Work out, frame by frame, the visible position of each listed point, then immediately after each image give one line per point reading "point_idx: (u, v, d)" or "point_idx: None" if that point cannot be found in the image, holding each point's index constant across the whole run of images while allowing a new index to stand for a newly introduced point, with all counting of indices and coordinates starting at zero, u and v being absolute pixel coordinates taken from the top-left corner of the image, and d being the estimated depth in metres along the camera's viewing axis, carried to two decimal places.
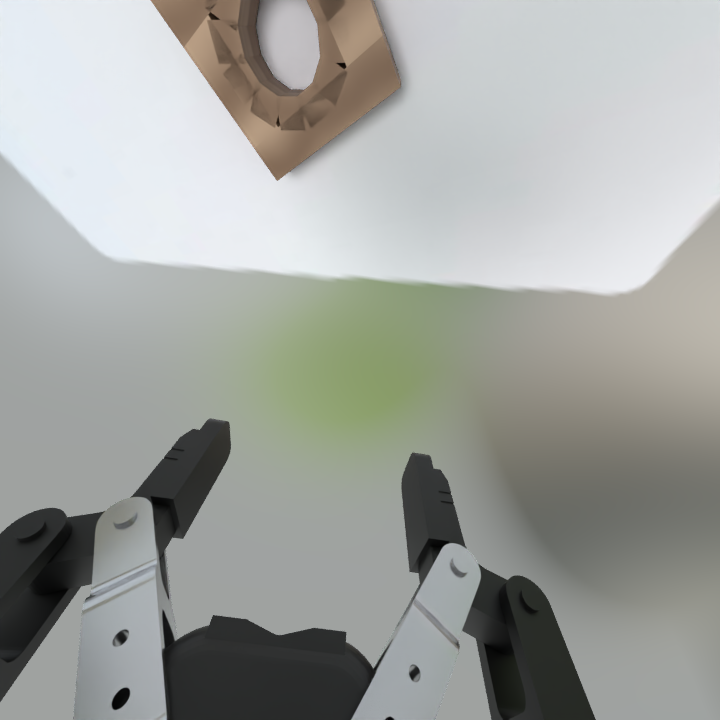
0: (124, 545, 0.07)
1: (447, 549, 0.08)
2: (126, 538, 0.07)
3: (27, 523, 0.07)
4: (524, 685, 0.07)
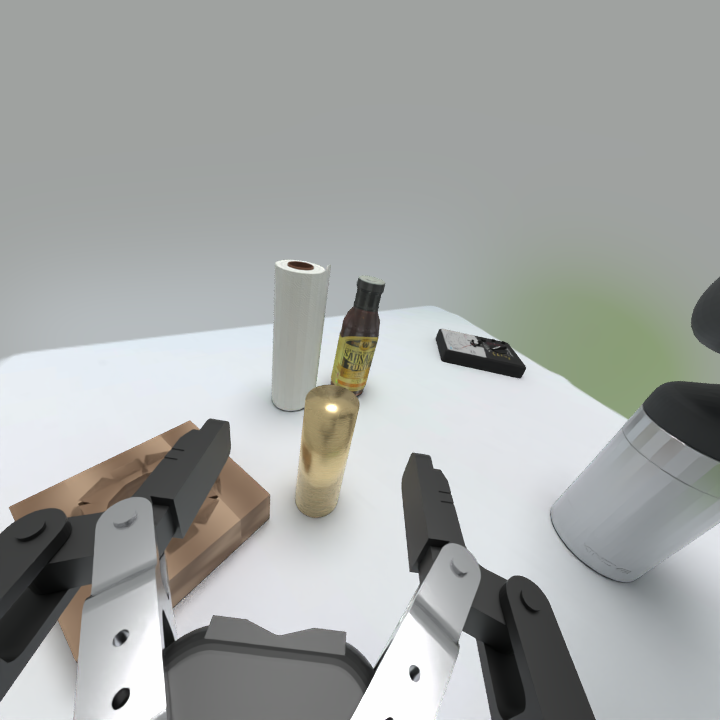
0: (124, 545, 0.07)
1: (447, 549, 0.08)
2: (126, 538, 0.07)
3: (27, 523, 0.07)
4: (524, 685, 0.07)
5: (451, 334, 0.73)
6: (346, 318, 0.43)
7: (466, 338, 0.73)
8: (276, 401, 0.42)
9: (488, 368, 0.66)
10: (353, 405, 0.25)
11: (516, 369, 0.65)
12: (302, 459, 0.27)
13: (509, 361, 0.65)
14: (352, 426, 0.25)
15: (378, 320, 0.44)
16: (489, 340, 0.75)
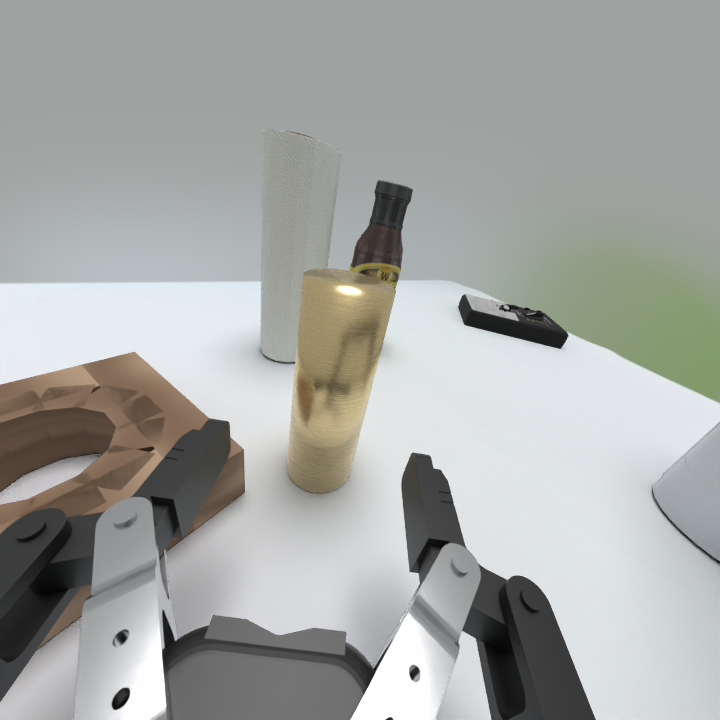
0: (124, 545, 0.07)
1: (447, 549, 0.08)
2: (126, 538, 0.07)
3: (27, 523, 0.07)
4: (524, 685, 0.07)
5: (476, 299, 0.63)
6: (360, 241, 0.32)
7: (494, 304, 0.63)
8: (266, 348, 0.32)
9: (520, 335, 0.55)
10: (385, 289, 0.14)
11: (555, 337, 0.54)
12: (297, 392, 0.16)
13: (548, 327, 0.54)
14: (384, 324, 0.14)
15: (401, 246, 0.34)
16: (522, 308, 0.64)
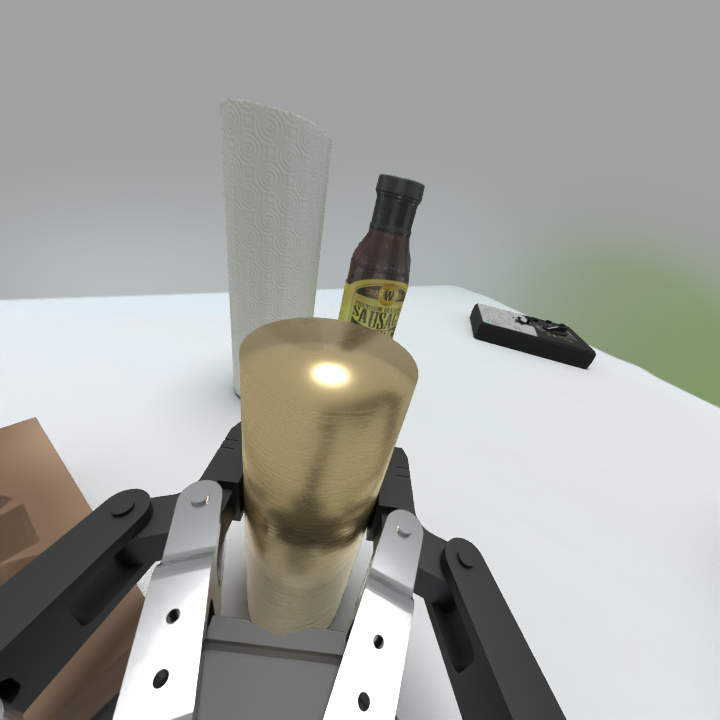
0: (204, 522, 0.08)
1: (395, 514, 0.09)
2: (197, 517, 0.08)
3: (121, 500, 0.08)
4: (471, 638, 0.07)
5: (490, 310, 0.57)
6: (357, 251, 0.26)
7: (510, 315, 0.56)
8: (239, 387, 0.25)
9: (538, 352, 0.48)
10: (399, 366, 0.08)
11: (580, 356, 0.47)
12: (247, 526, 0.10)
13: (572, 344, 0.47)
14: (396, 434, 0.08)
15: (409, 257, 0.27)
16: (542, 321, 0.57)
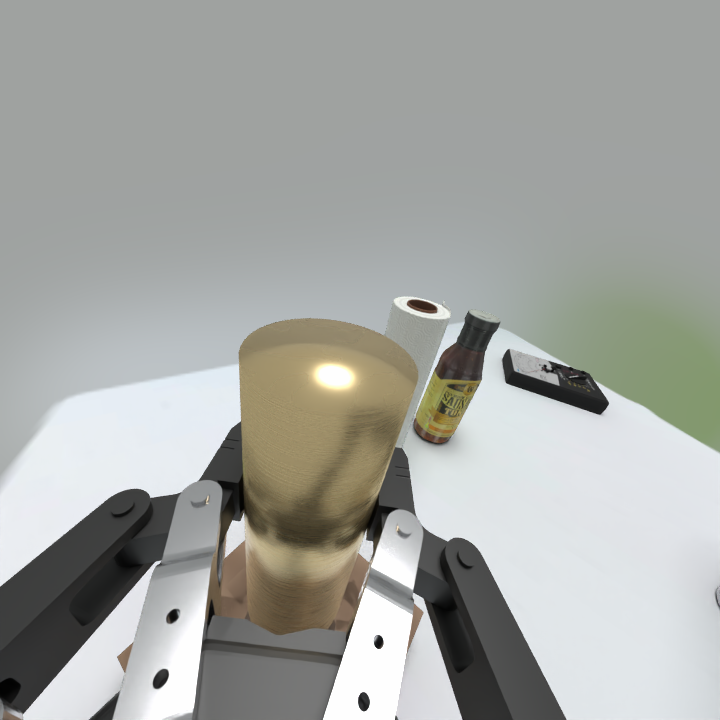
0: (204, 521, 0.08)
1: (395, 514, 0.09)
2: (196, 518, 0.08)
3: (121, 500, 0.08)
4: (471, 638, 0.07)
5: (520, 356, 0.68)
6: (448, 358, 0.37)
7: (537, 362, 0.67)
8: None
9: (560, 398, 0.59)
10: (399, 368, 0.08)
11: (595, 404, 0.57)
12: (247, 527, 0.10)
13: (588, 393, 0.58)
14: (396, 436, 0.08)
15: None
16: (566, 368, 0.67)
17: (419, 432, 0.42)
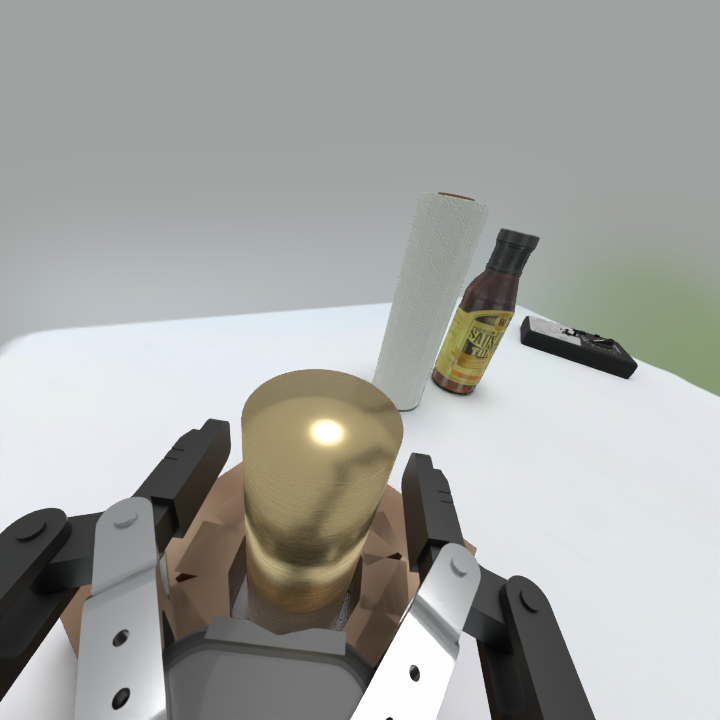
0: (124, 545, 0.07)
1: (447, 549, 0.08)
2: (126, 537, 0.07)
3: (27, 523, 0.07)
4: (524, 685, 0.07)
5: (539, 321, 0.64)
6: (477, 286, 0.32)
7: (559, 327, 0.63)
8: None
9: (581, 360, 0.55)
10: (386, 425, 0.09)
11: (622, 366, 0.52)
12: (248, 561, 0.10)
13: (614, 355, 0.53)
14: (383, 488, 0.08)
15: None
16: (591, 335, 0.62)
17: (439, 381, 0.37)
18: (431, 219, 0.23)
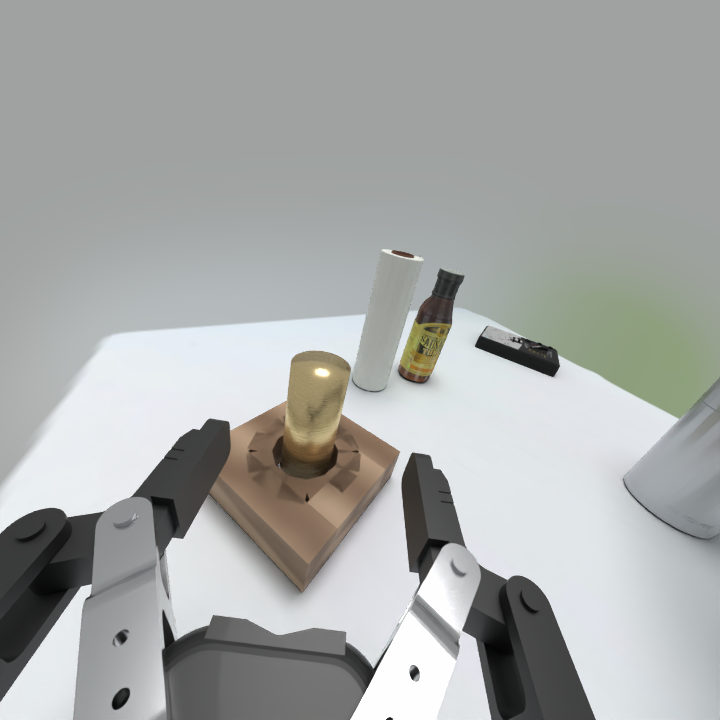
0: (124, 545, 0.07)
1: (447, 549, 0.08)
2: (126, 538, 0.07)
3: (27, 523, 0.07)
4: (524, 685, 0.07)
5: (495, 330, 0.80)
6: (425, 306, 0.47)
7: (509, 336, 0.78)
8: (360, 381, 0.45)
9: (518, 360, 0.70)
10: (344, 370, 0.23)
11: (548, 366, 0.67)
12: (287, 432, 0.24)
13: (543, 357, 0.68)
14: (342, 393, 0.22)
15: None
16: (535, 343, 0.77)
17: (402, 373, 0.52)
18: (386, 268, 0.37)
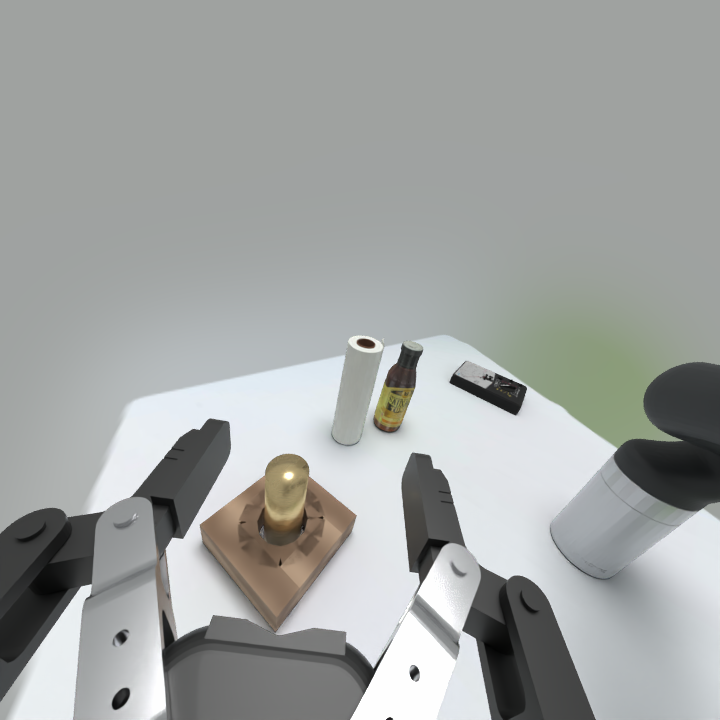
0: (124, 545, 0.07)
1: (447, 549, 0.08)
2: (126, 538, 0.07)
3: (27, 523, 0.07)
4: (524, 685, 0.07)
5: (471, 366, 0.88)
6: (391, 373, 0.55)
7: (483, 372, 0.86)
8: (337, 437, 0.54)
9: (486, 398, 0.78)
10: (303, 474, 0.32)
11: (510, 406, 0.75)
12: (265, 514, 0.34)
13: (507, 397, 0.76)
14: (302, 491, 0.32)
15: (415, 373, 0.56)
16: (507, 380, 0.84)
17: (376, 424, 0.61)
18: (351, 357, 0.46)
